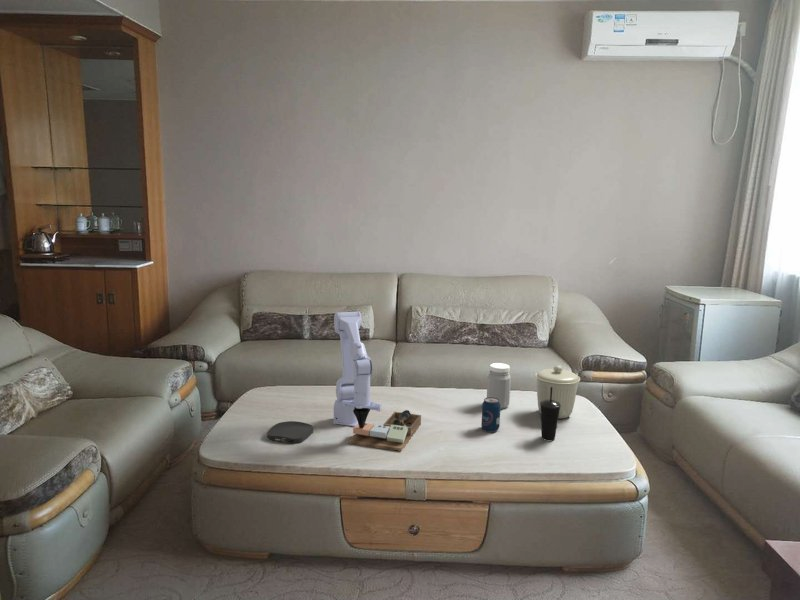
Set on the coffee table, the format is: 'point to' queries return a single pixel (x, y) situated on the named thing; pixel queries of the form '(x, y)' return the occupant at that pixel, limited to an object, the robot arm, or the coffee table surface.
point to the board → (383, 442)
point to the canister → (557, 388)
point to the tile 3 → (397, 433)
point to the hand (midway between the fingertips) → (361, 427)
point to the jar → (499, 383)
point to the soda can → (490, 414)
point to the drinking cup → (549, 417)
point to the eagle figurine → (401, 418)
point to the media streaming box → (290, 432)
